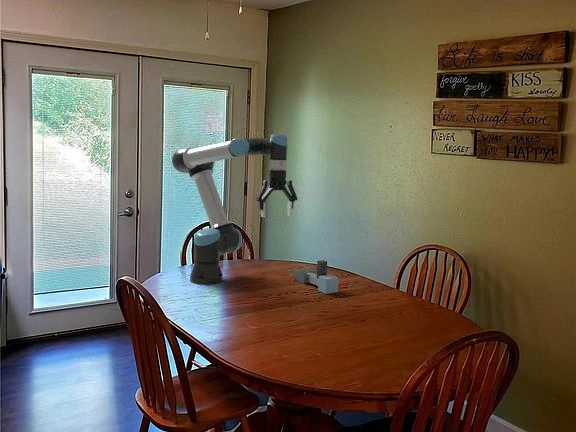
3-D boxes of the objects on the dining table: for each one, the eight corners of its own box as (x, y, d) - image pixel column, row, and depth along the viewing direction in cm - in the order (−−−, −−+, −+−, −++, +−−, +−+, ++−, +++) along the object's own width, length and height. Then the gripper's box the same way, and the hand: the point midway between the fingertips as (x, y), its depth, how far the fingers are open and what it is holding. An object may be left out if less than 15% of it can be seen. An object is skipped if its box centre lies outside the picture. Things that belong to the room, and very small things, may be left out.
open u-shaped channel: (294, 279, 283) (294, 268, 282) (305, 278, 286) (306, 267, 285) (303, 283, 275) (304, 272, 274) (315, 282, 278) (316, 271, 278)
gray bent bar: (305, 280, 277) (306, 256, 275) (311, 279, 279) (312, 255, 277) (324, 289, 263) (325, 264, 261) (331, 288, 265) (332, 263, 263)
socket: (318, 290, 265) (318, 276, 264) (330, 288, 268) (330, 274, 267) (325, 293, 260) (326, 279, 259) (337, 292, 263) (338, 277, 262)
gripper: (256, 170, 254) (255, 218, 258) (306, 170, 267) (304, 216, 270) (249, 168, 261) (247, 216, 264) (297, 168, 273) (295, 214, 276)
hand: (276, 216), depth 267 cm, fingers open, 13 cm apart
